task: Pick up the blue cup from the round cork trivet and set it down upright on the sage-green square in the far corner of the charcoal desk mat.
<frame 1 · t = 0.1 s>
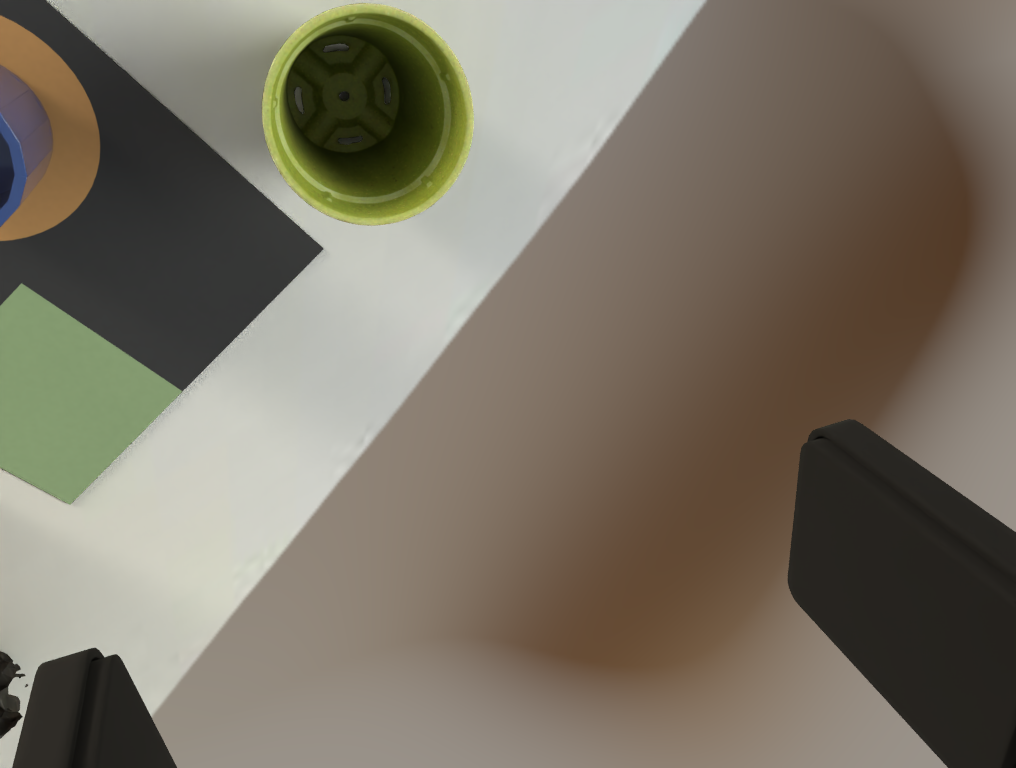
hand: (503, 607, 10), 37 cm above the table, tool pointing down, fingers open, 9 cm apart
desk mat: (16, 256, 40), on the table
plant pot: (344, 94, 42), on the table
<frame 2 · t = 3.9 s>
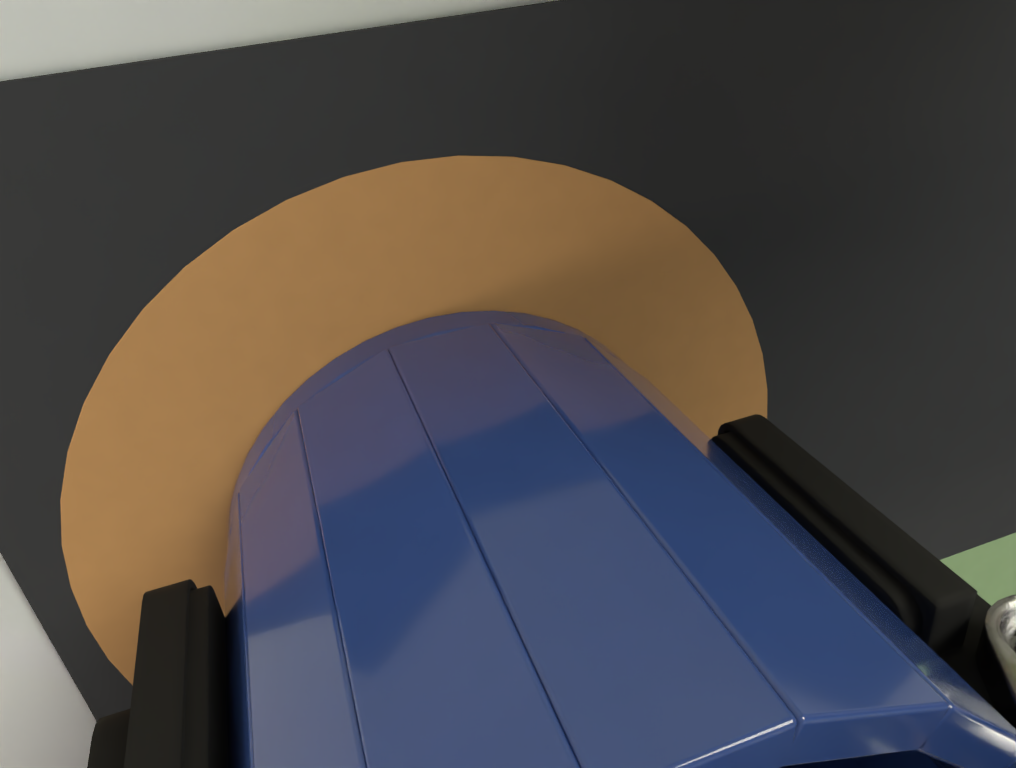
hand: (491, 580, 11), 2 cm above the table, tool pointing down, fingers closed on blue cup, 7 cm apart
desk mat: (730, 598, 15), on the table
blue cup: (462, 515, 12), resting on desk mat, touching gripper
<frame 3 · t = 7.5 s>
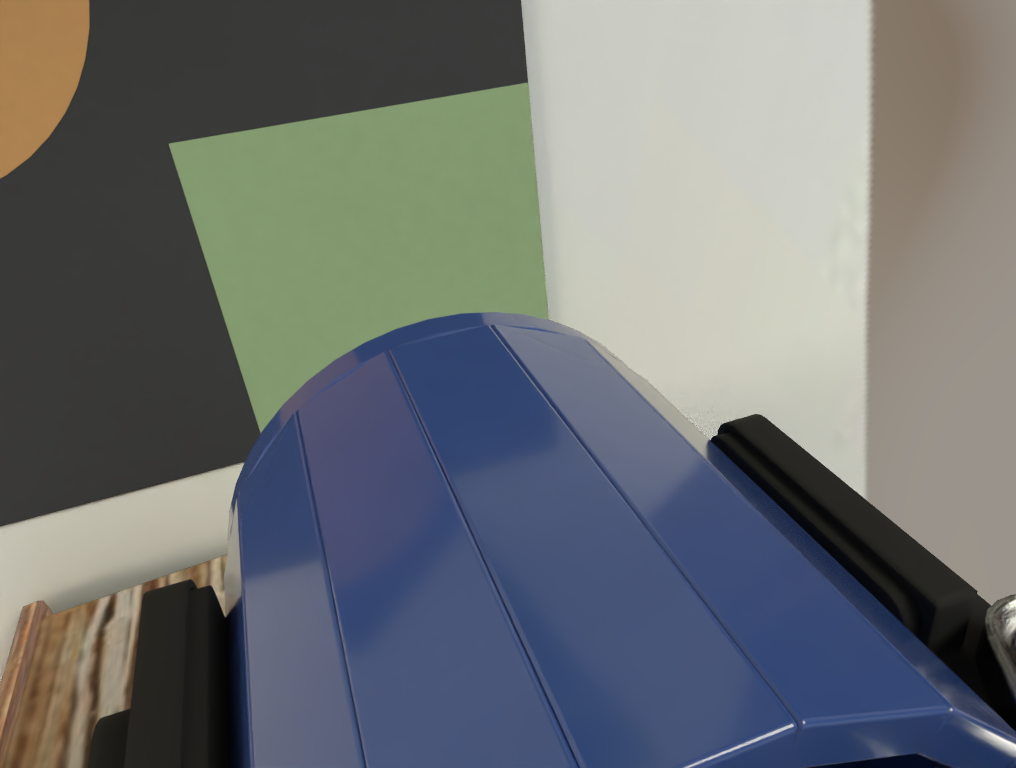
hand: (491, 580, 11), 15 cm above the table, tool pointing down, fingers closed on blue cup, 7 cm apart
desk mat: (114, 110, 20), on the table
book: (287, 765, 32), on the table
blue cup: (462, 516, 12), point 13 cm above the table, touching gripper
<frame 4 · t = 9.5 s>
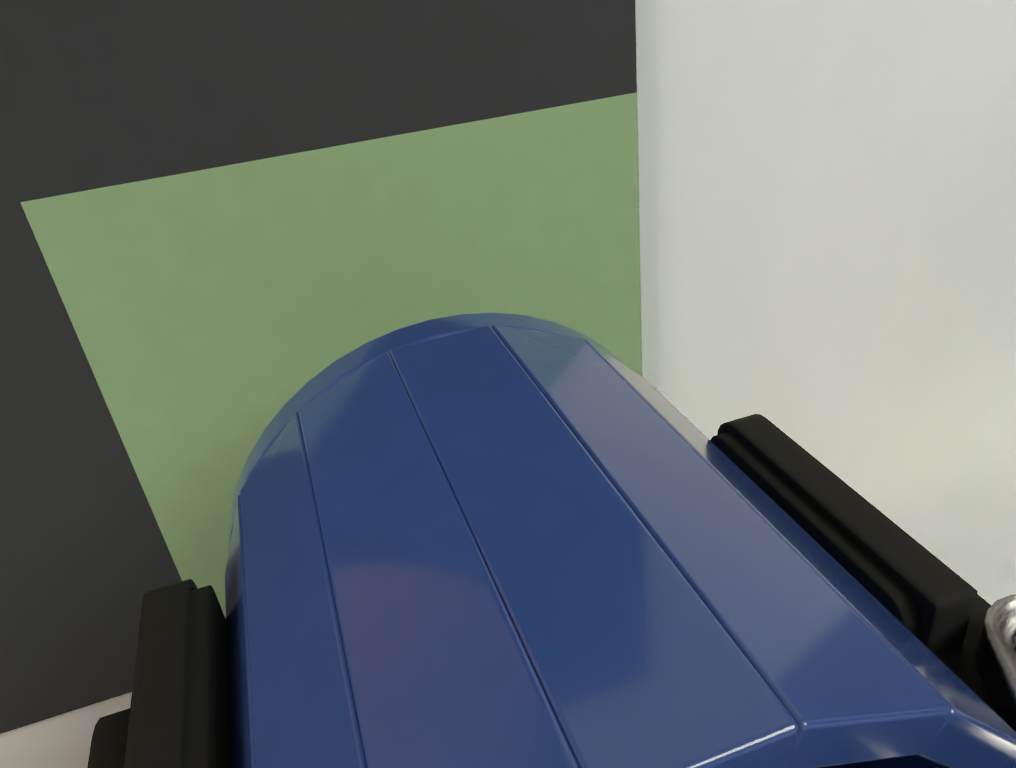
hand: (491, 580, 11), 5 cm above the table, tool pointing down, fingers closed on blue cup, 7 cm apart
blue cup: (462, 516, 12), point 4 cm above the table, touching gripper
when the fingers open (2 cm above the table, at t = 11.0 s): blue cup stays where it is, resting on desk mat.
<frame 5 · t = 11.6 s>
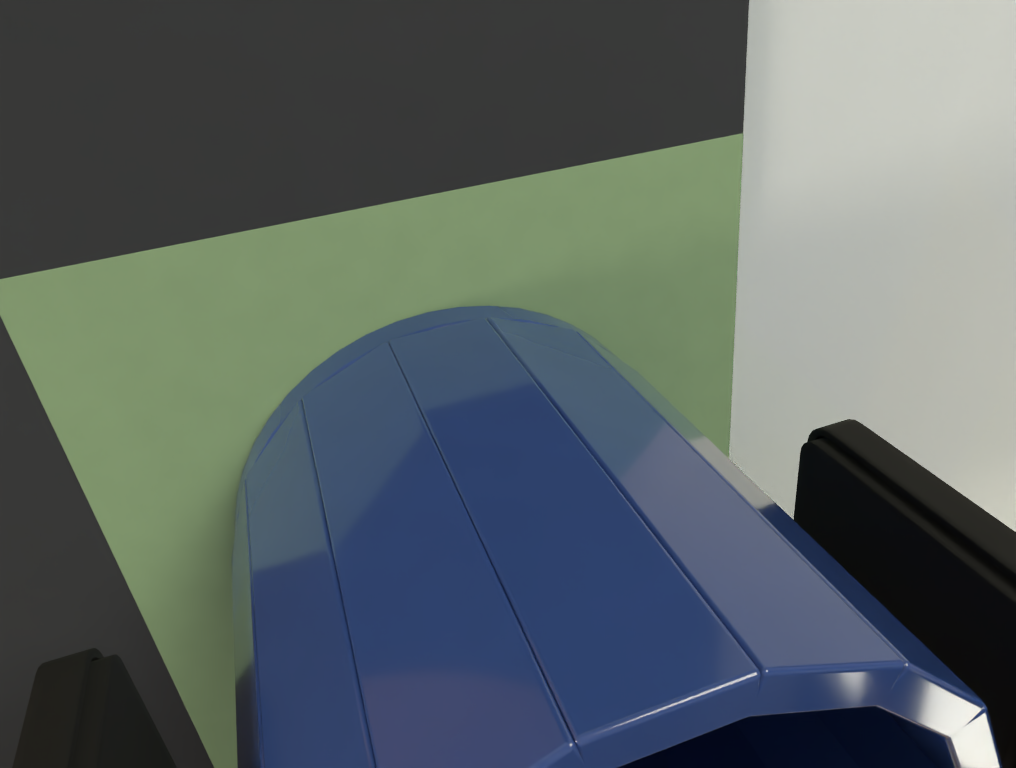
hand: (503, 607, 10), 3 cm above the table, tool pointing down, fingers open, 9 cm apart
blue cup: (460, 503, 13), resting on desk mat
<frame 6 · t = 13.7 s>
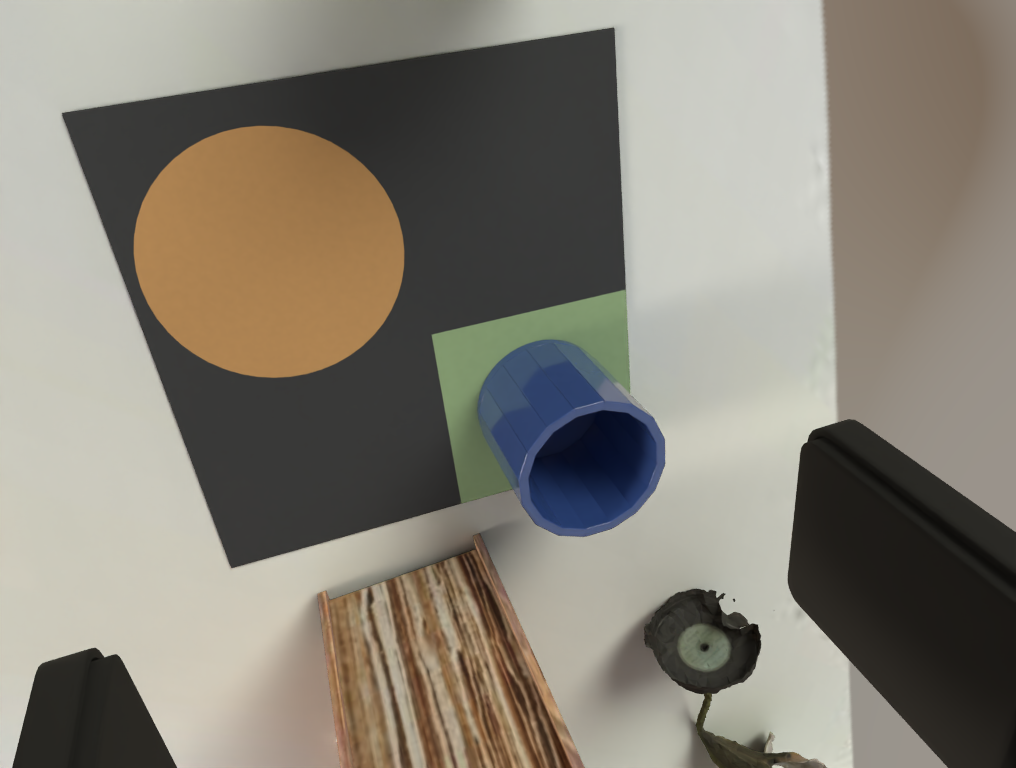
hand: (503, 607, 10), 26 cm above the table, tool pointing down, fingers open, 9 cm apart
desk mat: (407, 319, 36), on the table
book: (448, 707, 48), on the table
artificial flower: (716, 691, 56), on the table
blue cup: (541, 400, 40), resting on desk mat
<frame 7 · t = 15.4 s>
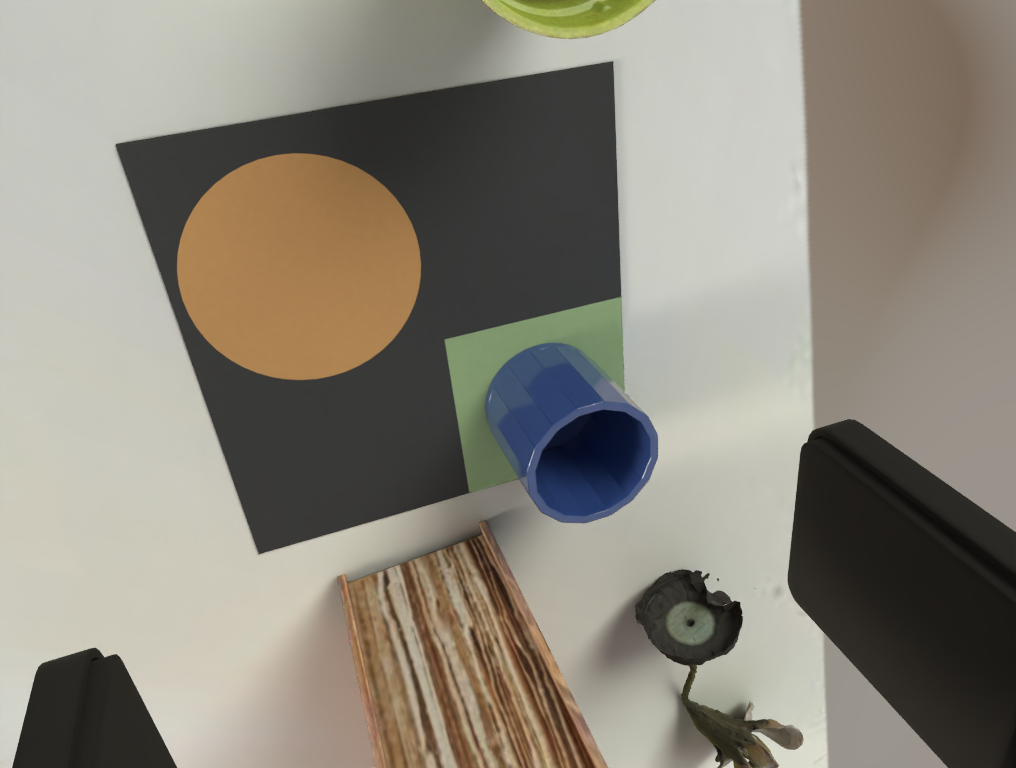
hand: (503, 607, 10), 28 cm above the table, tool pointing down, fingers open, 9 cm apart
desk mat: (422, 326, 40), on the table
book: (454, 680, 52), on the table
artificial flower: (701, 664, 60), on the table
blue cup: (543, 398, 44), resting on desk mat
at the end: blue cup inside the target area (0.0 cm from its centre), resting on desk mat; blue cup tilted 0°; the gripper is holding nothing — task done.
